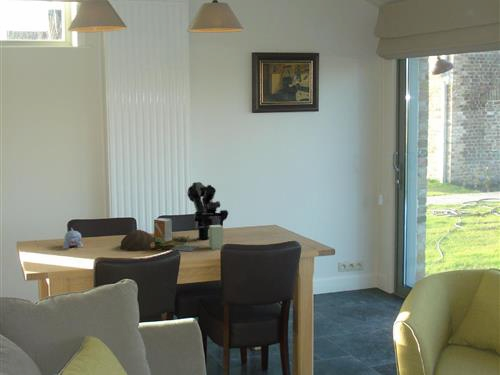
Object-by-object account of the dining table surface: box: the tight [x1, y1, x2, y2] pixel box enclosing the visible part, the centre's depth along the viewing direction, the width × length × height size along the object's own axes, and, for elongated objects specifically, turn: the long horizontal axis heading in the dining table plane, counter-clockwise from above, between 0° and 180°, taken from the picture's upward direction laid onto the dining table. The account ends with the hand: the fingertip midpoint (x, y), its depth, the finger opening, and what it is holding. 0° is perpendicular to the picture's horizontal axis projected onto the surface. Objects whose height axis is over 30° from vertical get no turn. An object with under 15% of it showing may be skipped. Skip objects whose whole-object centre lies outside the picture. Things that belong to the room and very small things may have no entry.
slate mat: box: [169, 244, 199, 253], centre depth 396 cm, size 12×12×1 cm
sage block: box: [208, 224, 224, 250], centre depth 399 cm, size 6×6×12 cm
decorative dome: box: [120, 229, 155, 252], centre depth 399 cm, size 19×20×10 cm
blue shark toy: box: [62, 227, 84, 249], centre depth 399 cm, size 11×15×10 cm
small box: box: [153, 217, 173, 241], centre depth 413 cm, size 8×6×13 cm
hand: (214, 227), depth 402 cm, fingers open, 9 cm apart
